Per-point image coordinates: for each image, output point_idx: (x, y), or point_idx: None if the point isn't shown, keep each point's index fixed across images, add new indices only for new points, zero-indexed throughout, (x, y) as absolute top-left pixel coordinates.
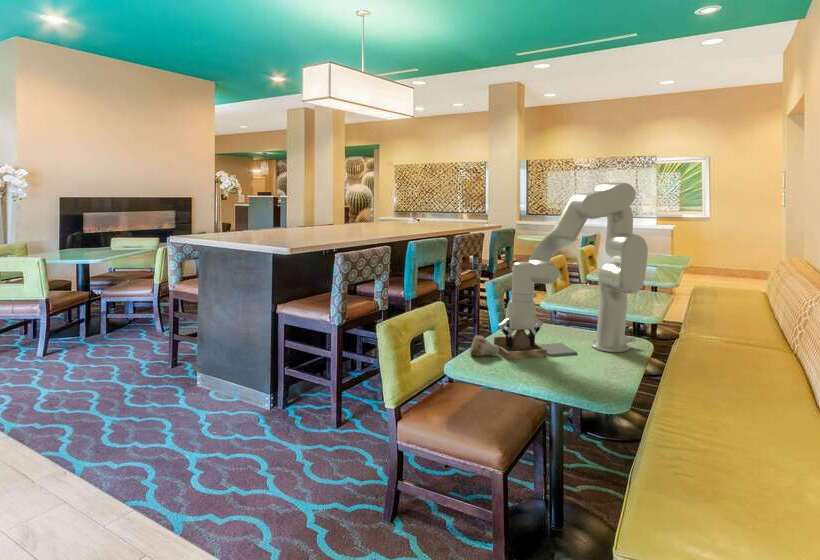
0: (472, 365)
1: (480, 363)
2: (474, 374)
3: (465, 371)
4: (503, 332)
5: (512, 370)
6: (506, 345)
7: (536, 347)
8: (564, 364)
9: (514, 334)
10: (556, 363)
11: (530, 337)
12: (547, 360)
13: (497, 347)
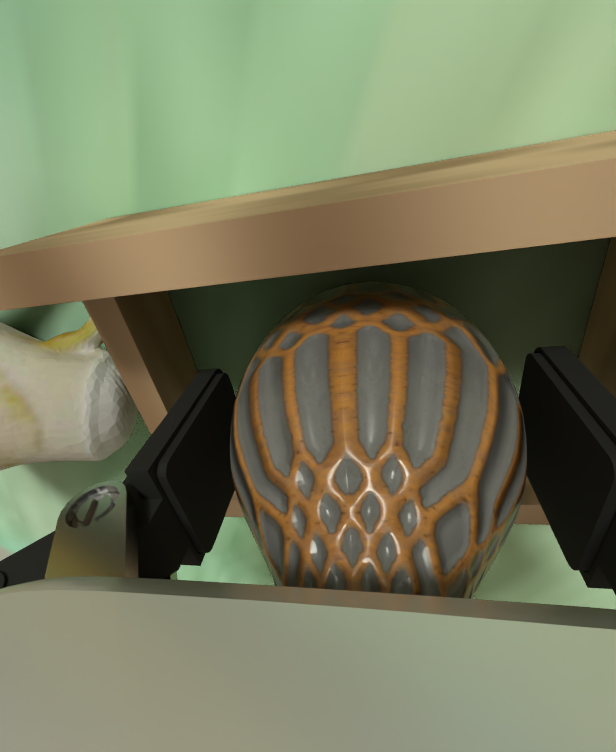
0: (14, 499)
1: (50, 485)
2: None
3: (4, 545)
4: (30, 564)
5: (222, 579)
6: (204, 375)
7: (612, 371)
8: (578, 589)
9: (251, 530)
10: (536, 570)
11: (567, 493)
12: (515, 525)
13: (98, 455)
